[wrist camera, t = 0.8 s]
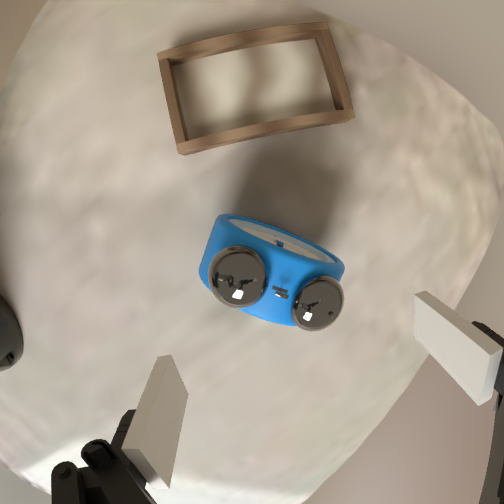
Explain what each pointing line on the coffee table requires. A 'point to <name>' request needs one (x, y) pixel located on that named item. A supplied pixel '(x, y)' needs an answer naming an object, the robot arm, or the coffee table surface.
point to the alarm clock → (272, 274)
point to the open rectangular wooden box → (253, 85)
